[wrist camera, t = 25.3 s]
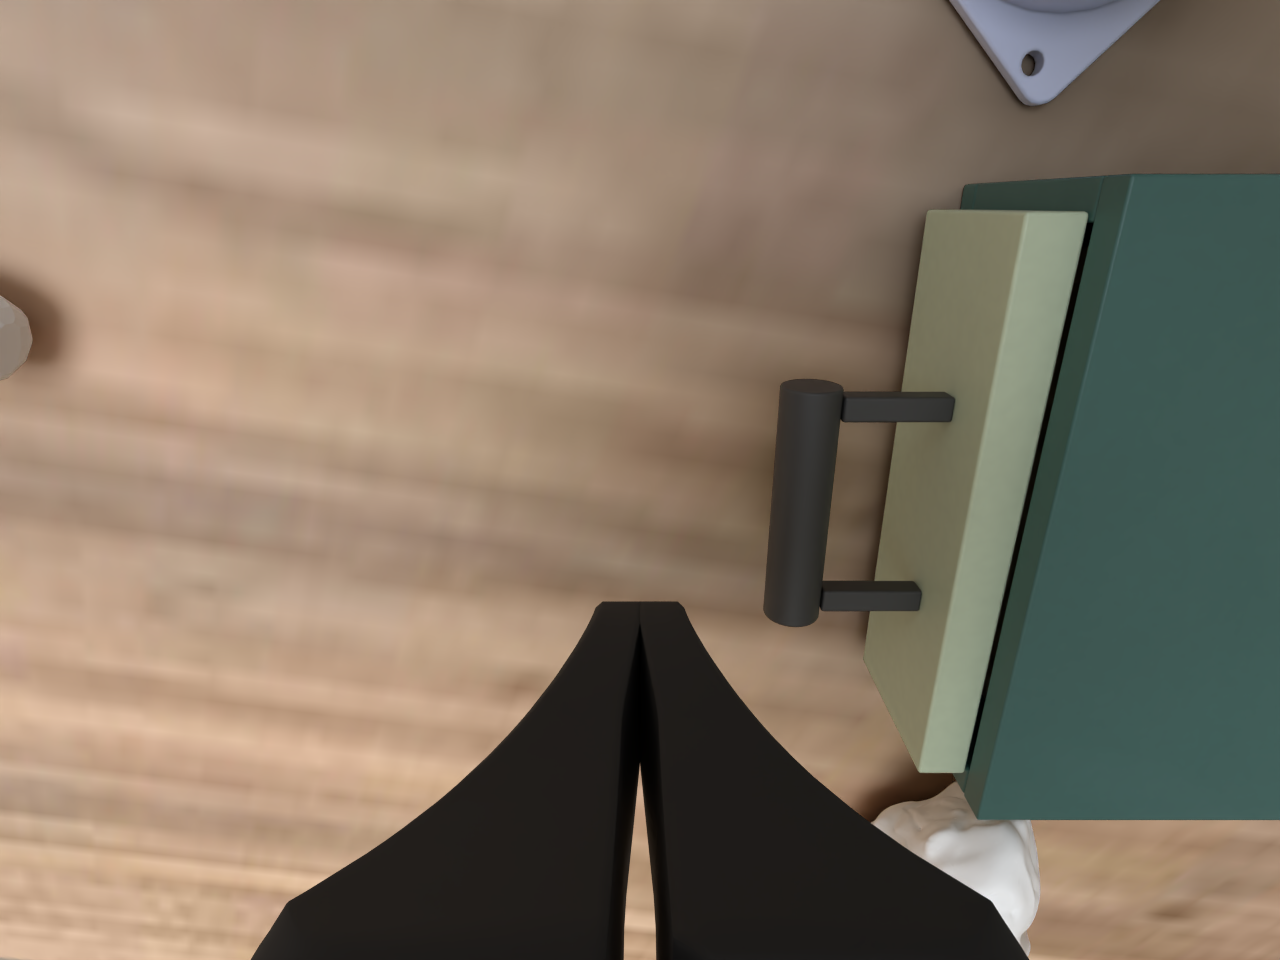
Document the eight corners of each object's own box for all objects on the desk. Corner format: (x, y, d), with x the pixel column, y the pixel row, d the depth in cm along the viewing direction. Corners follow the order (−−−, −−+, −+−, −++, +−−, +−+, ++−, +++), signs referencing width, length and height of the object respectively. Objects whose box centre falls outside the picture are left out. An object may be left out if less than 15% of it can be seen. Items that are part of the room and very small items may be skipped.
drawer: (739, 659, 22) (765, 774, 18) (768, 209, 17) (814, 211, 13) (1284, 659, 22) (1446, 774, 18) (1469, 209, 17) (1760, 211, 13)
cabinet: (887, 658, 23) (976, 820, 17) (963, 184, 18) (1132, 173, 12) (1323, 657, 23) (1569, 820, 17) (1531, 184, 18) (1999, 173, 12)
